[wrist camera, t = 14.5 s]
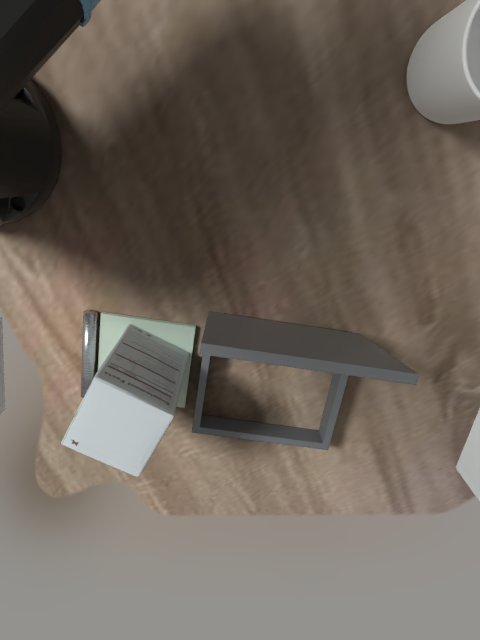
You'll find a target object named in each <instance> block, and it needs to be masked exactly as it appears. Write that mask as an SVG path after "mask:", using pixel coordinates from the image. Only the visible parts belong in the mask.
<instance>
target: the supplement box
mask: <svg viewBox="0 0 480 640" xmlns="http://www.w3.org/2000/svg"><path fill="white" fill-rule="evenodd" d="M188 357H189V353H188V352H186V351H184V350H182V349H180V348H178V347H176V346H174V345H172V344H170V343H168V342H166V341H164V340H162V339H160V338H158V337H156V336H154V335H152V334H150V333H148V332H146V331H144V330H142V329H140V328H138V327H136V326H134V325H132V324H129V325H128V326H127V328H126V329H125V331H124V333H123V334H122V336H121V337H120V339H119V340H118V342H117V343H116V345H115V346H114V348H113V349H112V350H111V352H110V353H109V355H108V356H107V358H106V359H105V361H104V362H103V364H102V365H101V367H100V368H99V370H98V371H97V373H96V375H95V376H94V378H93V380H92V382H91V384H90V386H89V388H88V390H87V392H86V394H85V396H84V398H83V400H82V402H81V404H80V406H79V408H78V410H77V412H76V414H75V416H74V418H73V420H72V422H71V424H70V426H69V428H68V430H67V432H66V434H65V436H64V438H63V440H62V442H61V444H62V445H64V446H67V447H69V448H71V449H73V450H75V451H77V452H80V453H82V454H84V455H87V456H89V457H91V458H94V459H96V460H98V461H101V462H103V463H105V464H108V465H110V466H112V467H115V468H117V469H119V470H122V471H124V472H126V473H129V474H131V475H134V476H137V477H138V476H139V475H140V474H141V472H142V471H143V469H144V468H145V466H146V464H147V463H148V461H149V459H150V458H151V456H152V454H153V453H154V451H155V449H156V448H157V446H158V444H159V442H160V441H161V439H162V437H163V436H164V434H165V432H166V430H167V429H168V427H169V425H170V423H171V422H172V420H173V418H174V416H175V411H176V407H177V403H178V399H179V395H180V391H181V387H182V383H183V379H184V375H185V370H186V366H187V362H188Z"/></svg>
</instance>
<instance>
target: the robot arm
mask: <svg viewBox="0 0 480 640" xmlns="http://www.w3.org/2000/svg"><path fill="white" fill-rule="evenodd" d="M99 2H100V0H0V225H3V224H7V223H11V222H14V221H18V220H20V219H23V218H25V217H27V216H28V215H30V214H32V213H33V212H35V211H36V210H37V209H38V208H39V207H40V206H41V205H42V204H43V203H44V202H45V201H46V200H47V198H48V197H49V195H50V194H51V192H52V190H53V188H54V186H55V184H56V181H57V179H58V175H59V171H60V165H61V142H60V135H59V131H58V127H57V124H56V121H55V118H54V115H53V113H52V111H51V109H50V107H49V105H48V103H47V101H46V99H45V98H44V96H43V95H42V93H41V92H40V90H39V89H38V88H37V86H36V85H35V84H34V83H33V82H32V81H31V79H32V77H33V76H34V75H35V74H36V73H37V72H38V71H39V70H40V69H41V67H42V66H43V65H44V64H45V63H46V62H47V61H48V60H49V59H50V57H51V56H52V55H53V54H54V53H55V52H56V51H57V50H58V49H59V47H60V46H61V45H62V44H63V43H64V42H65V41H66V40H67V39H68V37H69V36H70V35H71V34H72V33H73V32H74V31H75V30H76V29H77V27H78V26H79V25H80V26H82V27H84V26H85V25H86V24H87V23H88V22H89V20H90V18H91V12H92V10H93V9H94V8H95V7H96V5H97V4H98V3H99ZM4 391H5V390H4V361H3V332H2V317H0V414H1V413H2V412H3V411H4V410H5V393H4ZM456 469H457V471H458V472H459V473H460V475H461V476H462V478H463V479H464V480H465V482H466V483H467V484H468V486H469V487H470V489H471V490H472V491H473V493H474V494H475V496H476V497H477V498H478V500H479V501H480V409H479V411H478V414H477V416H476V419H475V421H474V424H473V426H472V429H471V431H470V434H469V436H468V439H467V441H466V443H465V446H464V448H463V451H462V453H461V456H460V458H459V461H458V463H457V466H456Z"/></svg>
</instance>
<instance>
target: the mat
mask: <svg viewBox="0 0 480 640" xmlns="http://www.w3.org/2000/svg"><path fill="white" fill-rule="evenodd" d="M129 324H132V325H134V326H136V327H138V328H140V329H142V330H144V331H146V332H148V333H150V334H152V335H154V336H156V337H158V338H160V339H162V340H164V341H166V342H168V343H170V344H172V345H174V346H176V347H178V348H180V349H182V350H184V351H186V352H188V353H189V357H188V362H187V366H186V370H185V375H184V379H183V383H182V387H181V391H180V395H179V399H178V403H177V407H182V408H185V404H186V397H187V389H188V382H189V374H190V367H191V359H192V352H193V344H194V336H195V329H196V325H191V324H184V323H177V322H170V321H163V320H157V319H150V318H143V317H136V316H129V315H122V314H115V313H109V312H102V313H101V317H100V337H99V357H98V370H99V368H100V367H101V365H102V364H103V362H104V361H105V359H106V358H107V356H108V355H109V353H110V352H111V350H112V349H113V348H114V346H115V345H116V343H117V342H118V340H119V339H120V337H121V336H122V334H123V333H124V331H125V329H126V328H127V326H128V325H129Z"/></svg>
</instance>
